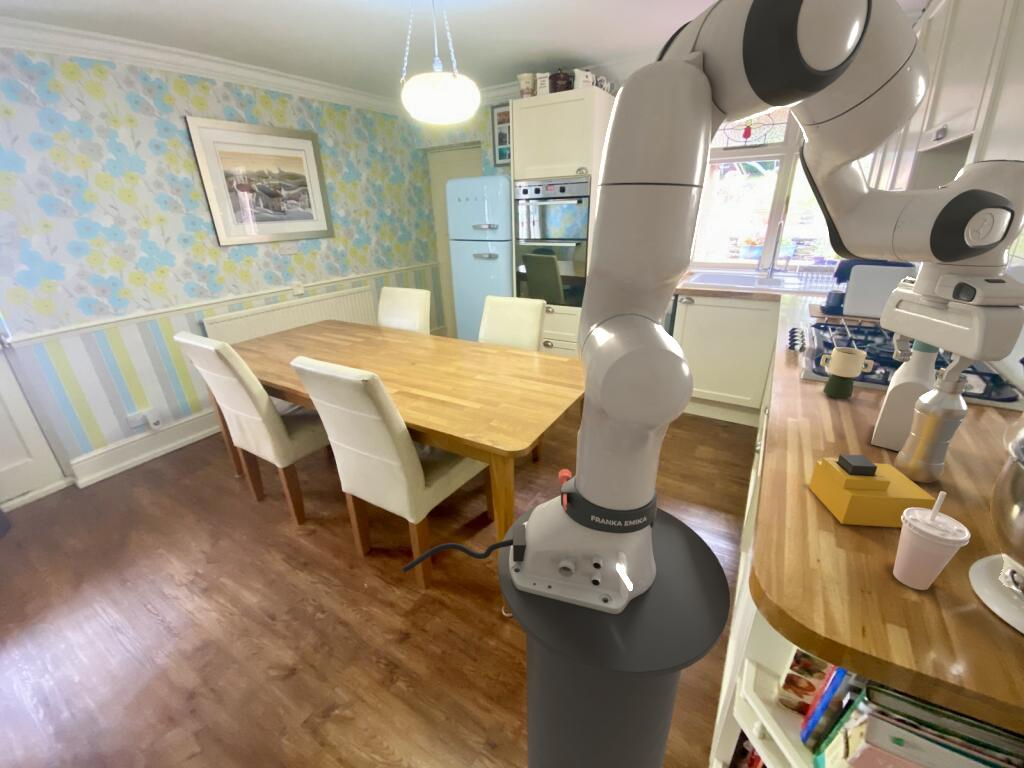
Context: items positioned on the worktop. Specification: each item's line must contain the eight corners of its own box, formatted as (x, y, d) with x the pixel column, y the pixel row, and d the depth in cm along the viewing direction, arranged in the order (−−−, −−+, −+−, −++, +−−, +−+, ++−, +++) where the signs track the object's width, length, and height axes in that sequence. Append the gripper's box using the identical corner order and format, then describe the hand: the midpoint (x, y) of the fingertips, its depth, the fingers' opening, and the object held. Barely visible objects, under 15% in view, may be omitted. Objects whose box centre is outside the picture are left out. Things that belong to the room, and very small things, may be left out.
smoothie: (904, 557, 61) (939, 477, 56) (956, 593, 55) (1000, 507, 50) (868, 565, 60) (901, 484, 54) (917, 603, 54) (959, 515, 49)
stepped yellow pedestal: (839, 524, 68) (853, 485, 65) (807, 487, 77) (817, 451, 74) (923, 529, 66) (940, 489, 63) (879, 490, 75) (893, 455, 73)
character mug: (860, 395, 114) (874, 350, 109) (862, 405, 108) (878, 357, 103) (812, 388, 119) (824, 344, 114) (812, 396, 114) (824, 351, 109)
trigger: (849, 476, 68) (853, 465, 67) (836, 464, 71) (839, 453, 70) (873, 477, 67) (877, 466, 67) (859, 465, 71) (862, 454, 70)
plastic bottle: (942, 491, 75) (987, 389, 67) (893, 480, 78) (931, 381, 71) (932, 473, 80) (974, 376, 72) (887, 464, 83) (922, 370, 76)
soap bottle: (865, 424, 98) (903, 309, 88) (911, 435, 93) (958, 314, 83) (860, 442, 91) (901, 319, 81) (910, 455, 86) (961, 325, 76)
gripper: (883, 274, 72) (859, 350, 77) (995, 294, 53) (953, 393, 59) (923, 274, 71) (896, 351, 77) (1051, 295, 53) (1003, 395, 58)
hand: (921, 369), depth 67 cm, fingers open, 8 cm apart
